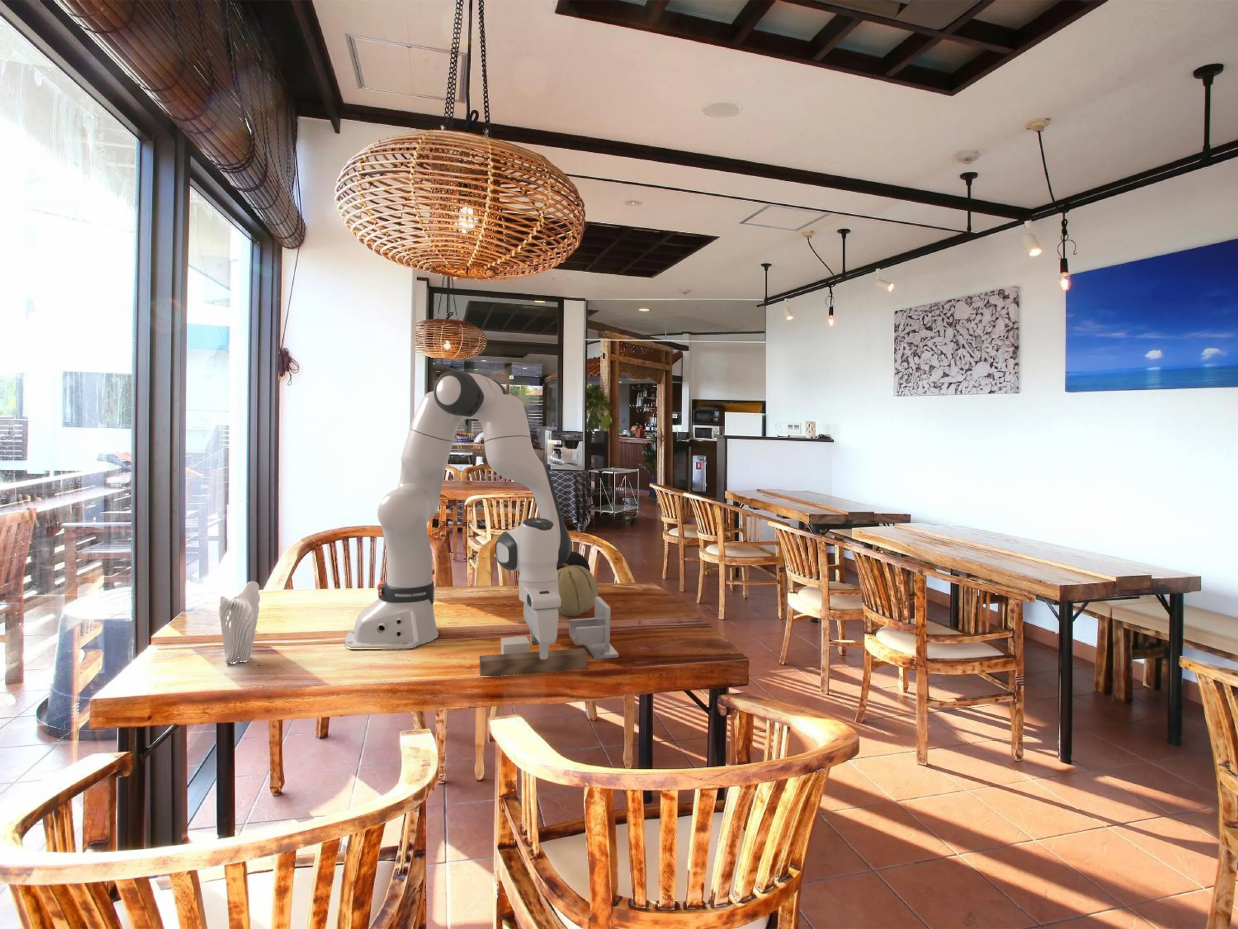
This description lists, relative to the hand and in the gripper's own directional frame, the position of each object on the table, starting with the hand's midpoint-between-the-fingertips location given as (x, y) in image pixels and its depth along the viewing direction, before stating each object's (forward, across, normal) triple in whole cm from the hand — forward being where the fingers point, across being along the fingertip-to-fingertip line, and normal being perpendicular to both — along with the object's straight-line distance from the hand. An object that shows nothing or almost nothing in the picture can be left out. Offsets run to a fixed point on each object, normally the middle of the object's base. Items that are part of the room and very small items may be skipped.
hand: (539, 651), depth 153 cm
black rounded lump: (+4, -57, +21) cm, 61 cm away
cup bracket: (+4, -9, +15) cm, 18 cm away
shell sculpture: (+3, -22, -65) cm, 68 cm away
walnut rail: (+5, 0, -1) cm, 5 cm away
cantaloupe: (+5, -39, +18) cm, 43 cm away
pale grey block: (+4, -9, -4) cm, 11 cm away
